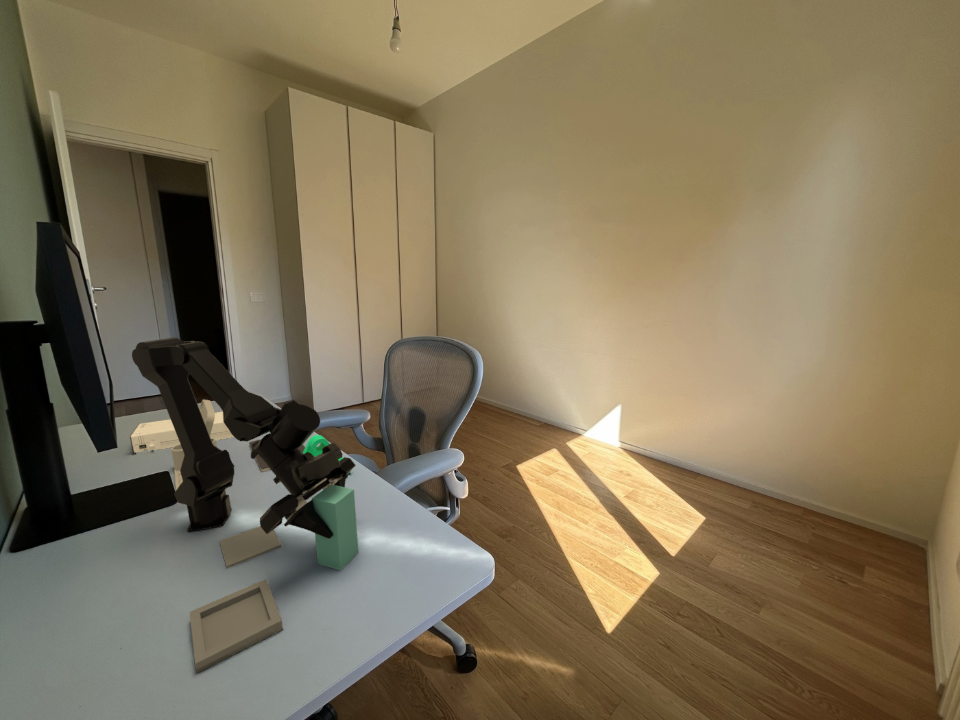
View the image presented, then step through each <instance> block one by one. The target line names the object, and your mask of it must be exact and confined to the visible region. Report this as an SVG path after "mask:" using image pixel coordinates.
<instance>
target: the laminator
mask: <svg viewBox="0 0 960 720" xmlns="http://www.w3.org/2000/svg"><path fill="white" fill-rule="evenodd" d="M231 437H233V438H235V437H234V436H233V435H232V434H231V433H230V431H229V429H228V428H227V426H226V425H225V424H224V422H223V411H218V412H215V419H214V423H213V427H212V430H211V434H210V438H212V439H215V440H216V441H220V439H222V440H226V438H228V439H232V438H231ZM129 439H130V440H129V441H130V445H131V450H132V452H133V453H134V454H135V452H142V451H145V450H148V451H150V450H157V449H165V448H170V447H175V446H177V445H180V442H179V439H178V437H177V434H176V431H175V429H174V426H173V424H172V421H171V419H170V418H169V419H164V420H158V421H157V420H156V421H151V422H150V421H149V422H142V423H138V424H137V426H136V427H135V429H133V431H132V432H131V434H130V436H129ZM165 450H166V449H165Z"/></svg>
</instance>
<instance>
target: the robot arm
mask: <svg viewBox="0 0 960 720" xmlns="http://www.w3.org/2000/svg"><path fill="white" fill-rule="evenodd" d="M131 357H132V360H133V363H134V364H135V365H136V366H137V368H138V370H139V372H140V373H141V376H142V377H143V378H144V379H146V380H147V381H149V382H150V383H152V384H153V385H154V386H156V387H157V388H158V391H159V393H160V395H161V398H162V401H163V403H164V406H165V409H166V410H167V413H168V416H169V419H171V421H172V424H173V426H174V429H175V431H176V434H177V437H178V439H179V442H180V444H181V447H182V449H183V452H184V459H183V462H182V466H181V469H180V472H181V476H182V480H183V482H182V483H181V484H180V486H179V487H178V489H177V490H176V489H175V491H174V493H173V494H174V497H175V499H176V501H177V503H178V504H181V505H186V508H187V514H188V519H189V525H188V526H187V528H186V531H187V532H194V531H200V530H207V529H213V528H214V529H215V528H219V527H223V526H224V525H225V523H226V521H227V519H228V518H229V517H230V515H231V513H232V510H233V509H232V507H231V506H232V505H231V504H232V503H231V500H230V495H229V494H227V492H226V491H227V490H226V489H228V488H231V487H233V482H234V477H235V464H234V463H233V462H232V460H231V455H230V452H229V451H228V450H227V449H223V450H222V449H220V448H219V447H216V446H217V445H216V446H214V445H213V443H212V441H211V438H210V436H209V433H208V430H207V428H206V425H205V423H204V420H203V417H202V415H201V412H200V407H199V404H198V402H197V398H196V397H195V395H194V394H195V393H194V391H193V388H192V386H191V384H190V381H189V375H190V376H191V377H192V379H194V381H196V383H197V384H199V386H200V387H201V388H202V389H203V390H204V391H205V392H206V393H207V394H208V396H209V397H211V399H212V400H213V401H214V402H215V403H216V404H217V405H218V407H219V408H220V409H221V411H222V412H223V422H224V424H225V425H226V426H227V428H228V429H229V431H230V433H231V434H232V435H233V436H234V437H233V438H234V439H236V440H237V441H239V442H251V441H253V440H254V439H256V438H258V437H261V436H263V437H262V438H261V439H259V440H260V441H258V442H255V443H253V444H252V450H251V451H250V458H251V459H252V460H254V459H255V460H256V458H257V457H259V456H260V457H261V458H262V459H263V461H264V462H265V463H266V464H267V466H268V467H269V468H270V469H271V470H270V471H271V472H272V473H273V474H274V476H275V477H274V478H273V479H272V481H273V482H274V483H275V485H278V484H279V483H281V484H282V485H283V487H284V488H285V489H286V490H287V492H289V493H288V494H286V495H284V496H283V497H282V498H280V499H279V500H277V501H276V502H274V503H273V504H271V506H270V507H269V508H268V509H267V510H265V512H264V513H263V514H262V515H261V517H259V526H260V527H261V528H262V529H263V530H264V532H265V533H266V534H268V533H269V532H271V531H272V530H274V531H275V530H276V529H277V528H278V527H279V526H281V524H282V523H283V520H284V518H285V520H286V522H284V524H283V526H284V527H288V526H293V527H297V528H300V529H302V530H303V529H304V530H307V531H308V532H311V533H313V534H315V533H316V534H318V535H321V536H323V537H325V538H328V539H330V538H331V537H332V536H333V533H332V532H331V530H330V529H329V527H328V526H327V525H326V524H325V522H324V521H323V520H322V519H321V517H320V516H319V515H318V514H317V512H316V511H315V509H314V504H313V500H312V499H310V498H313V497H314V496H316V495H317V494H318V493H320V492H321V491H323V490H324V489H326V488H327V487H329V486H330V485H331V484H332V485H336V486H341V487H345V488H346V479H348V477H349V475H348V474H349V473H351V471H352V470H353V469H354V468H355V467H356V466H357V465H356V463H354V461H353V460H352V459H351V458H350V457H345V456H344V457H343V452H342V450H341V448H340V447H339V446H338V445H337V444H336V443H335V442H331V443H330V444H328V445H327V446H325V447H323V448H322V453H321V454H320V455H318V456H315V457H314V456H313V455H312V454H311V453H309V452H307V453H305V454H303V452H302V451H301V450H300V449H299V447H301V446H302V445H304V444H305V443H306V441H307V440H309V439H310V438H311V437H312V435H313V434H314V432H315V431H316V430H317V429H318V427H319V426H320V423H321V417H320V415H319V413H318V412H317V410H315V409H313V408H311V407H310V406H308V405H305V404H299V403H298V402H297V401H296V400H295V399H294V400H290V401H287V402H284V404H283V405H282V407H281V408H278V407H275V406H274V405H272V404H271V403H270V402H269V401H268V400H267V399H265V398H264V397H263V396H261V395H258V394H255V393H252V392H250V391H248V390H246V389H245V388H244V387H243V386H242V385H241V384H240V383H239V382H238V380H237V379H236V378H235V377H234V376H233V375H232V374H231V373H230V372H229V370H227V369H226V368H225V366H224V365H223V364H222V363H221V362H220V361H219V360H218V359H217V358H216V357H215V356H214V355H213V354H212V353H211V351H210V348H209V346H208V344H207V343H205V342H203V341H199V340H197V341H195V340H190V341H189V340H188V341H184V340H181V339H180V338H179V337H175V336H174V337H168V338H167V337H166V338H162V339H161V338H160V339H155V340H147V341H141V342H138V343H137V344H136V346H135V349H133V350H132V352H131ZM341 457H343V459H341V460H340V461H339V460H338V459H340V458H341ZM309 499H310V500H309ZM307 500H308V502H307Z"/></svg>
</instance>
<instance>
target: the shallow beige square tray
mask: <svg viewBox="0 0 960 720" xmlns="http://www.w3.org/2000/svg"><path fill="white" fill-rule="evenodd" d="M189 619H190V628H191V638H192V648H193V655H194V663H195V670H196V674H199V673H201V672H203V671H205V670H207V669H210V668H211V667H213V666H215V665H217V664H218V663H221V662H222V661H224V660H226V659H228V658H231V657H232V656H234V655H236V654H238V653H240V652H242V651H244V650H246V649H249V647H252V646H254V645H256V644H257V643H259V642H262V641H264V640H265V639H268V638H269V637H271V636H273V635H275V634H277V633H279V632H281V631H283V630H284V629H283V621H282V618H281V614H280V612H279V609H278V607H277V604H276V601H275V599H274V597H273V593H272V591H271V588H270V585H269V583H268V580H267V578H264V579H262V580H260V581H257V582H255V583H253V584H251V585H248V586H246V587H243V588H242V589H239V590H237V591H234V592H232V593H230V594H227V595H225V596H223V597H221V598H219V599H216V600H213V601H212V602H209V603H207V604H204V605H203V606H200V607H198V608H195V609H193V610H191V611H189Z"/></svg>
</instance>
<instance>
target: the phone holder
mask: <svg viewBox="0 0 960 720" xmlns="http://www.w3.org/2000/svg"><path fill="white" fill-rule="evenodd" d="M199 406H200V407H199V409H200V412H201V415H202V417H203V420H204V423H205V425H206V428H207V430H208V433H209V436H210V434H211V430H212V427H213V423H214V419H215V413H216V412H215V409H214V407H213V404H212V402H211V400H208V399H202V400H201V403H200V405H199ZM211 441H212V443H213V445H214V446H216V447H217V440H215V439H212V438H211ZM217 448H218V447H217ZM170 450H171V455H172V462H173V466H174V467H173V468H174V469H173V470H174V481H175V482H174V483H175V491H176V490H177V489H178V487H179V486H180V484H181V483H182V482H183V480H182V476H181V472H180V469H181V466H182V462H183V459H184V452H183V449H182V447H181V444H180V445H177V446H175V447H173V448H171V449H170Z"/></svg>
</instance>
